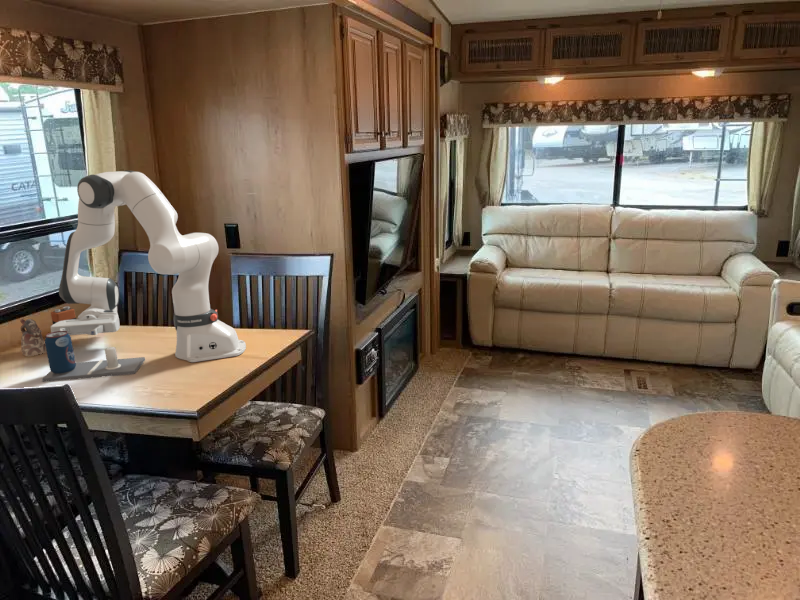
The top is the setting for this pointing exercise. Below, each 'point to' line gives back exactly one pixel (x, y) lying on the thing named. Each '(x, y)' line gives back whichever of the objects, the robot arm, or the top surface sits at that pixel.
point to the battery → (63, 314)
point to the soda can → (60, 352)
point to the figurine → (31, 338)
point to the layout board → (100, 367)
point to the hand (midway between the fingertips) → (77, 333)
